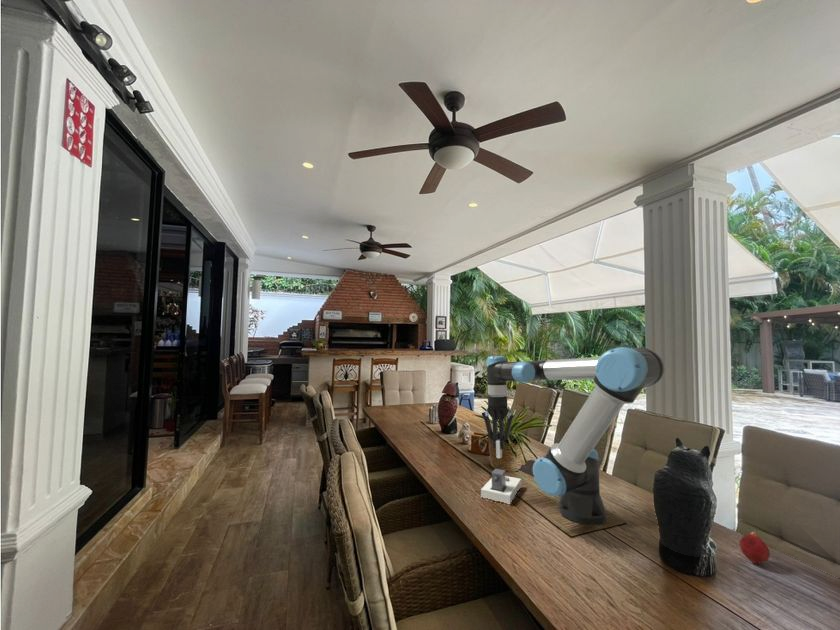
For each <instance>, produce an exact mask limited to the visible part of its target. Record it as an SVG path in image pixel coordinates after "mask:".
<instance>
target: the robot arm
mask: <svg viewBox="0 0 840 630" xmlns="http://www.w3.org/2000/svg"><path fill="white" fill-rule="evenodd" d="M665 369H666V368H665V363H664V361H663V359H662V357H661V356H660V355H659V354H658V353H657V352H655V351H653V350H652V349H649V348H647V347H646V348H645V347H626V346H625V347H624V346H623V347H622V346H620V347H616V348H612V349H609V350H607V351H605V352H603V353H602V354H601V355H600V356H594V357H591V356H590V357H578V358H577V357H576V358H561V359H549V360H547V359H545V360H531V361H530V360H529V361H528V360H527V361H507V357H506V356H505V355H504V356H503V355H500V356H499V355H493V356H491V355H490V356H487V359H486V373H487V374H486V378H487V395H488V396H487V408H486V410H485V411H483V412H481V416H482V418H483V420H484V423H485V428H486V431H487V436H488V438H489V439H492V440H493V449H495V450H496V451H495V456H496V457H495V458H497V459H502V457H503V449H505V441H506V440H508V439H509V438H510V434H511V429H512V424H513V420H514V419H515V417H516V416H515V414H514V413H511V412H510V409H509V407H508V406H509V405H508V396H507V395H508V385H507V384H508V382H513V383H520V384H525V383H526V384H529V383H532V382H533V381H560V380H561V381H564V380H565V381H566V380H567V381H571V380H573V381H577V380H578V381H580V380H584V381H585V380H588V381H590V380H592V382H593V383H594V388H593V390H592V391H591V392H590V394H589V396H588V397H587V399H586V400H585V402H584V403H583V405H582V407H581V408H580V410H579V411H578V413H577V415H576V416H575V417H574V420H573V421H572V422H571V424H570V426H569V427H568V429H567V430H566V432H565V434H564V435H563V437H562V438H561V440H560V442H559V443H558V442H556V443H553V444H552V445H550V448H548V450H547V452H546V454H545V455H544V456H543V457H539V458H538V459H537V460H534V461H535V463H534V465H533V475H534V479H535V480H534V481H535V483H536V485H537V487H539V489H540V490H541V491H542V492H543V493H544V494H546V495H548V496H550V497H559V496H560V498H559V500H558V512H559V514H560V513H561V514H562V515H561V514H560V515H561V516H562V517H564V518H565V517H566V519H567V518H568V519H567V520H569V519H570V521H572V520H573V521H572V522H574V521H575V523H578V524H583V525H589V526H590V525H591V526H593V525H595V526H596V525H601V524H604V523H605V522H606V521H607V509H606V507H605V504H604V501H603V498H602V496H601V493H600V492H601V491H600V488H601V487H600V466H599V465H600V463H599V462H600V459H599V452H598V451H597V450H596V449H595V447H596V445H598V443H599V441H600V440H601V438H602V437H603V435H604V434H605V433H606V431H607V430H608V428H609V427H610V425H611V424H612V423H613V422H614V420H615V418H617V416H618V414H619V412H621V409H622V408H623V407H624V405H628V404H633V403H634V402H635V400H636V399H637V398H638V396H639V395H640V393H642V391H643V389H644V388H648V387H652V386H654V385H657V384H658V383H659V382H660V381H661V380H662V379H663V377H664V375H665ZM489 416H490V417H489ZM506 417H507V423H506V426H505V418H506ZM490 418H491V421H490ZM491 422H492V424H491ZM498 430H499V431H498ZM498 434H499V435H498Z"/></svg>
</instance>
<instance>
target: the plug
mask: <svg viewBox="0 0 840 630" xmlns="http://www.w3.org/2000/svg"><path fill="white" fill-rule="evenodd" d="M505 476H506V470H505V469H500V468H494V470H492V472H491V478H492V490H496V491H501V492H504V491H505V489H506V477H505Z"/></svg>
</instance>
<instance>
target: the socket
mask: <svg viewBox="0 0 840 630" xmlns="http://www.w3.org/2000/svg"><path fill="white" fill-rule="evenodd" d="M505 477H506V489H505V491H504V492H501V491H496V490H492V477H491V478H489V480H488V481H487V482H486V483H485V484H484V485H483V486H482V487H481V488H480V498H481V497H483V498H488V499H492V500H495V501H500V502H504V503H507V504H510V503H511V502H512V500H513V498H514V497H515V495H516V493H517V491H518V489H519V488H520V486H521V487H522V478H519V477H512V476H508V475H505ZM516 496H517V495H516ZM515 498H516V497H515ZM515 498H514V499H515ZM513 501H514V500H513ZM512 503H513V502H512ZM512 503H511V504H512Z"/></svg>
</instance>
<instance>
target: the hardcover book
mask: <svg viewBox="0 0 840 630" xmlns="http://www.w3.org/2000/svg"><path fill="white" fill-rule="evenodd" d="M526 461H527V463H526V464H525V465H522V466H521V468H520V469H518V470H519V471H522V472H524V473H526V474H528V475H530V476H532V477H534V475H533V465H534V463H535V461H536V460H533V459H529V460H526Z"/></svg>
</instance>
